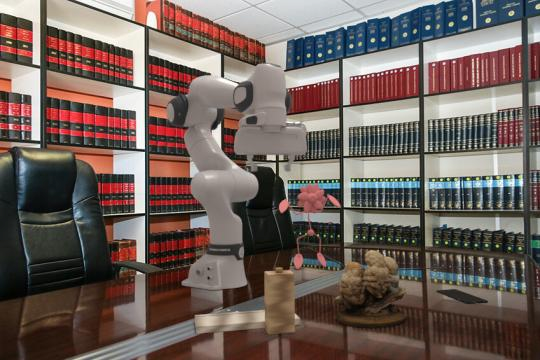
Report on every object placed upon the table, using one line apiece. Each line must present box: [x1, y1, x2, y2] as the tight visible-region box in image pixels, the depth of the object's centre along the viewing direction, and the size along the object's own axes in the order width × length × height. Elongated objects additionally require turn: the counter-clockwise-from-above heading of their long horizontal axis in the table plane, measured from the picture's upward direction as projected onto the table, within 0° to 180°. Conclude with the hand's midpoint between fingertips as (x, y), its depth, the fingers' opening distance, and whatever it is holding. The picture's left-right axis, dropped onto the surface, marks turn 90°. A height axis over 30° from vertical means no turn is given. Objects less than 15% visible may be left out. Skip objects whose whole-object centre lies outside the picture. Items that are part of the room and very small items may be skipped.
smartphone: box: [436, 288, 489, 305], centre depth 120 cm, size 7×1×15 cm
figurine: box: [278, 183, 342, 274], centre depth 165 cm, size 15×26×35 cm, turn 105°
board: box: [194, 309, 301, 335], centre depth 98 cm, size 24×9×2 cm, turn 103°
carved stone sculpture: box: [334, 249, 407, 329], centre depth 100 cm, size 18×12×17 cm, turn 103°
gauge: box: [263, 267, 296, 335], centre depth 96 cm, size 6×12×14 cm, turn 13°
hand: (270, 171), depth 113 cm, fingers open, 8 cm apart
